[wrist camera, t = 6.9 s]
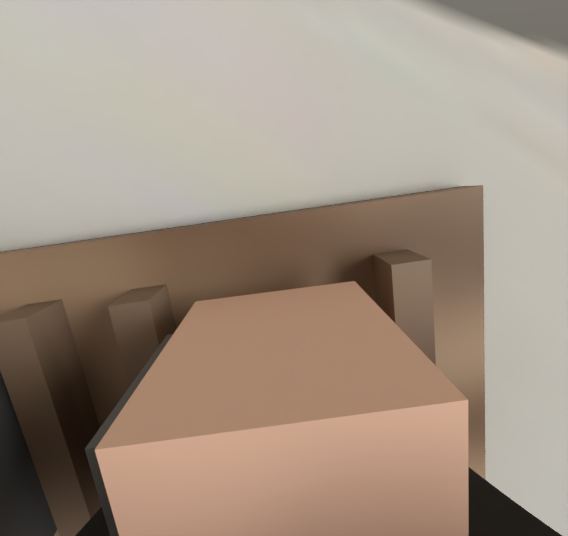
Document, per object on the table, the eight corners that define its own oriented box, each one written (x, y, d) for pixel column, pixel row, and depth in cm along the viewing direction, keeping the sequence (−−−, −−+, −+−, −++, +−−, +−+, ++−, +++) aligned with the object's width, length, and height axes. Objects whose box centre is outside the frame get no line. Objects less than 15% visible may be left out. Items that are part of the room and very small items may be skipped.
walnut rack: (469, 522, 13) (514, 595, 11) (-93, 610, 13) (-175, 706, 11) (463, 186, 11) (521, 184, 8) (-258, 288, 10) (-422, 319, 8)
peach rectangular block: (354, 280, 9) (468, 398, 4) (372, 508, 10) (469, 806, 5) (171, 304, 8) (37, 457, 4) (217, 529, 10) (167, 851, 5)
